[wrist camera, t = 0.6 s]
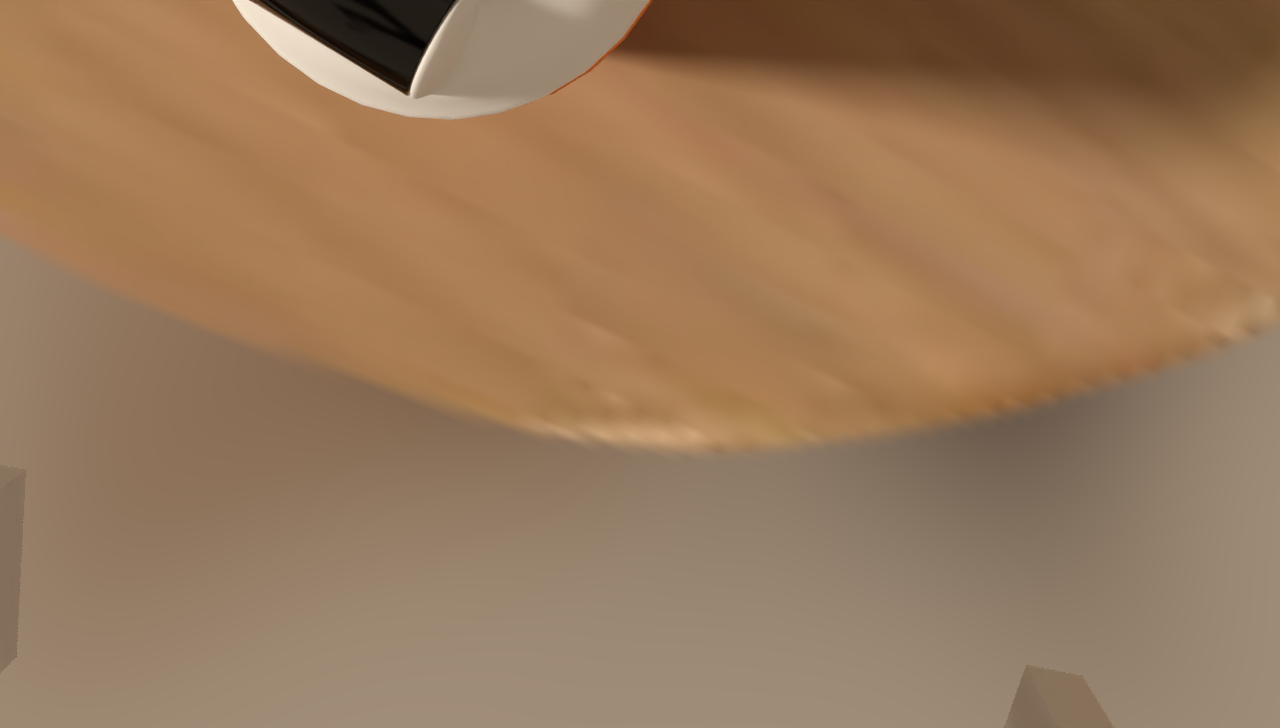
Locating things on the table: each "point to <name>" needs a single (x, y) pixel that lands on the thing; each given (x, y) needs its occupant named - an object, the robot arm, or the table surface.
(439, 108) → the shaker bottle
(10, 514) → the robot arm
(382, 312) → the table surface
